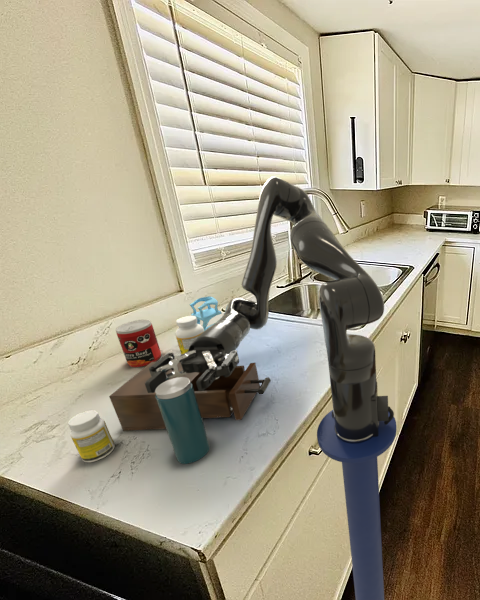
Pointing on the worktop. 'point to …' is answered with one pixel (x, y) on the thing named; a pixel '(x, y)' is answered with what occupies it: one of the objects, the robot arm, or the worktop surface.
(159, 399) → the can
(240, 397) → the drawer
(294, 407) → the worktop surface
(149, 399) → the cabinet
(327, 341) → the robot arm
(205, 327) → the chair
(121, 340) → the canned food
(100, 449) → the supplement bottle
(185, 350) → the supplement bottle
